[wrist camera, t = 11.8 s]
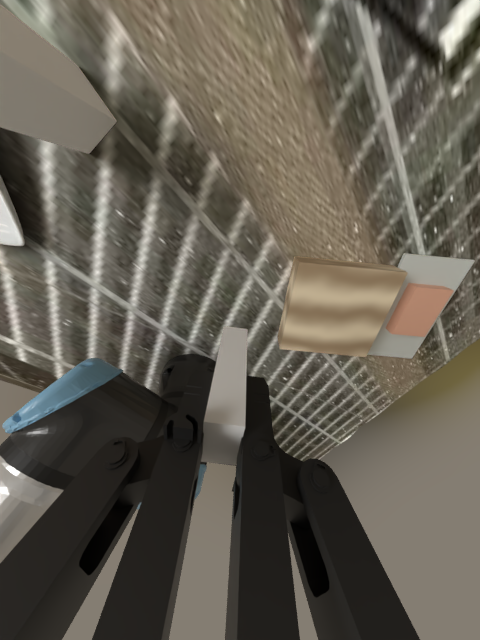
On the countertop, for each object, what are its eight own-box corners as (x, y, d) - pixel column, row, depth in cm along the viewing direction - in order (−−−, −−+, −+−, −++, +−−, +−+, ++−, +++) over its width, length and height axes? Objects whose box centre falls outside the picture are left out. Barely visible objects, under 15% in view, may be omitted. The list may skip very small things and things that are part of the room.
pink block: (391, 334, 37) (385, 328, 39) (424, 337, 37) (416, 331, 39) (416, 287, 33) (408, 282, 35) (454, 290, 33) (444, 286, 35)
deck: (356, 344, 42) (366, 357, 38) (277, 336, 42) (280, 348, 38) (391, 265, 34) (408, 272, 30) (294, 256, 34) (299, 262, 30)
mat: (410, 357, 43) (411, 358, 42) (357, 352, 43) (358, 353, 42) (472, 259, 33) (475, 260, 32) (403, 253, 33) (405, 253, 32)
